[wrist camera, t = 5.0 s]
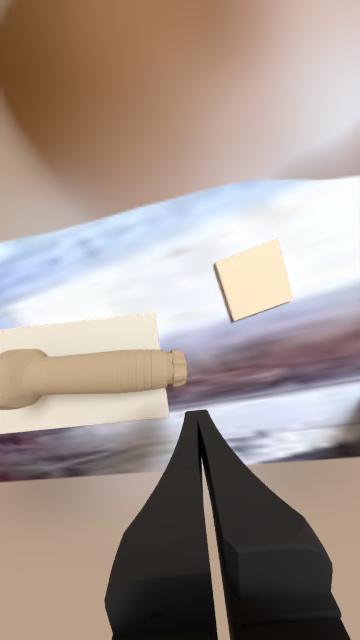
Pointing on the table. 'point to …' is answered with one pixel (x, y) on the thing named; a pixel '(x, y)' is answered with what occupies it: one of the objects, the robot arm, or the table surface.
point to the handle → (85, 373)
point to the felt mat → (83, 341)
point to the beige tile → (254, 280)
